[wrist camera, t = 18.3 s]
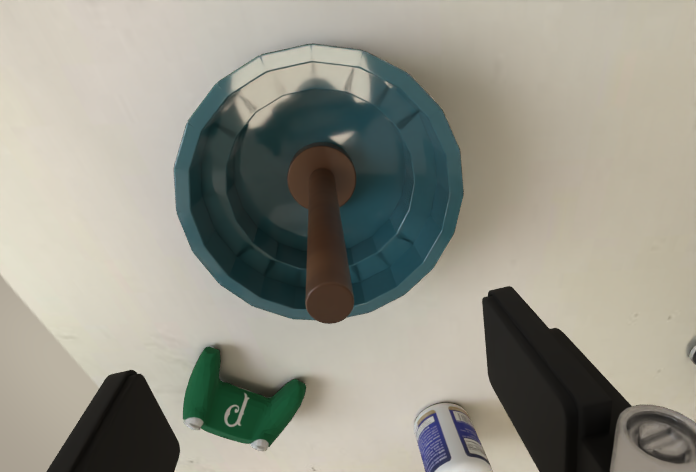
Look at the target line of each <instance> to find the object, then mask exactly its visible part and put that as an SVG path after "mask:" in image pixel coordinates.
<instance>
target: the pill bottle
mask: <svg viewBox="0 0 696 472" xmlns="http://www.w3.org/2000/svg"><path fill="white" fill-rule="evenodd" d="M414 431H415V435H416V439H417V442H418V446H419V450H420V453H421V457H422V460H423V464H424V468H425V472H493V471H492V468H491V465H490V463H489V461H488V459H487V456H486V454H485V452H484V450H483V447H482V445H481V443H480V440H479V438H478V436H477V434H476V431H475V429H474V427H473V424H472V422H471V420H470V418H469V416H468V414H467V412H466V411H465V410H464V409H463V408H462V407H460V406H458V405H456V404H451V403H440V404H435V405H433V406H430V407H428V408H426V409H425V410H424V411H422V412H421V413H420V414H419V416H418V417H417V419H416V421H415V425H414Z"/></svg>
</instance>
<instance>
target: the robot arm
mask: <svg viewBox="0 0 696 472" xmlns="http://www.w3.org/2000/svg"><path fill="white" fill-rule="evenodd" d="M482 304H483V316H484V329H485V342H486V354H487V367H488V376H489V380H490V383H491V385H492V387H493V389H494V391H495V393H496V395H497V396H498V398H499V400H500V402H501V403H502V405H503V407H504V409H505V411H506V412H507V414H508V416H509V418H510V420H511V421H512V423H513V425H514V427H515V429H516V430H517V432H518V434H519V436H520V438H521V439H522V441H523V443H524V445H525V446H526V448H527V450H528V452H529V454H530V455H531V457H532V459H533V461H534V463H535V464H536V466H537V468H538V470H539V472H696V423H695V422H694V421H692V420H691V419H689V418H687V417H686V416H684V415H682V414H680V413H679V412H676V411H673V410H671V409H668V408H665V407H660V406H655V405H636V406H633V407H632V406H631V405H630V404H629V403H628V402H627V401H626V400H625V399H624V397H623V396H622V395H621V394H620V393H619V392H618V391H617V390H616V389H615V388H614V387H613V386H612V385H611V383H610V382H609V381H608V380H607V379H606V378H605V377H604V376H603V375H602V374H601V373H600V372H599V371H598V369H597V368H596V367H595V366H594V365H593V364H592V363H591V362H590V361H589V360H588V359H587V358H586V357H585V355H584V354H583V353H582V352H581V351H580V350H579V349H578V348H577V347H576V346H575V345H574V344H573V343H572V341H571V340H570V339H569V338H568V337H567V336H566V335H565V334H564V333H563V332H562V331H561V330H560V329H557V328H553V329H549V328H548V327H547V326H546V325H545V323H544V322H543V321H542V320H541V319H540V318H539V317H538V316H537V314H536V313H535V312H534V311H533V310H532V309H531V308H530V307H529V306H528V304H527V303H526V302H525V301H524V300H523V299H522V298H521V297H520V295H519V294H518V293H517V292H516V291H515V290H514V289H513V288H512V287H510V286H508V287H504V288H499V289H495V290H490V291H489V292H488V297H484V298H483V300H482ZM179 453H180V447H179V442H178V440H177V438H176V436H175V434H174V433H173V431H172V429H171V427H170V425H169V423H168V421H167V419H166V418H165V416H164V414H163V412H162V410H161V408H160V406H159V404H158V402H157V401H156V399H155V397H154V395H153V393H152V391H151V389H150V387H149V386H148V384H147V382H146V380H145V378H144V376H143V375H141V374H137V373H136V372H135V371H134V370H129V371H124V372H120V373H115V374H111V375H109V376H108V377H107V378H106V379H105V381H104V382H103V384H102V385H101V387H100V388H99V390H98V392H97V393H96V395H95V396H94V398H93V400H92V401H91V403H90V404H89V406H88V407H87V409H86V411H85V412H84V414H83V415H82V417H81V418H80V420H79V421H78V423H77V425H76V426H75V428H74V429H73V431H72V432H71V434H70V435H69V437H68V439H67V440H66V442H65V443H64V445H63V446H62V448H61V450H60V451H59V453H58V454H57V456H56V458H55V459H54V461H53V462H52V464H51V465H50V467H49V469H48V470H47V472H174V470H175V467H176V464H177V461H178V458H179Z"/></svg>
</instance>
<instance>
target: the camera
mask: <svg viewBox="0 0 696 472" xmlns="http://www.w3.org/2000/svg"><path fill="white" fill-rule="evenodd" d="M689 358H690V359H691V360H692V361H693V363H694V364H695V365H696V346H695V347H694V348H693V349H692V350H691V352H690V356H689Z"/></svg>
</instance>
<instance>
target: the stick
mask: <svg viewBox="0 0 696 472" xmlns="http://www.w3.org/2000/svg"><path fill="white" fill-rule="evenodd" d="M287 182H288V188H289V190H290V193H291V195H292V196H293V198H294V199H295V200H296V201H297V202H298V203H299V204H300V205H301V206H303V207H304V208H306V209H308V238H307V268H306V298H305V305H306V309H307V311H308V313H309V314H310V316H311V317H312V318H314V319H315V320H317V321H319V322H322V323H328V324H330V323H337V322H340V321H342V320H344V319H345V318H346V317H348V315H349V314H350V313H351V311H352V310H353V307H354V295H353V289H352V283H351V277H350V271H349V265H348V258H347V252H346V246H345V240H344V234H343V228H342V222H341V215H340V209H339V208H340V207H341V206H343V205H344V204H345V203H346V202H347V201H348V200H349V199H350V198H351V196H352V194H353V192H354V190H355V186H356V172H355V168H354V165H353V163H352V160H351V159H350V157H349V156H348V154H347V153H346V152H345V151H344V150H343V149H341V148H340V147H338V146H336V145H334V144H331V143H326V142H317V143H312V144H309V145H307V146H305V147H303V148H302V149H300V150H299V151H298V152H297V153H296V154H295V156H294V157H293V159H292V160H291V163H290V165H289V170H288V175H287Z"/></svg>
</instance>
